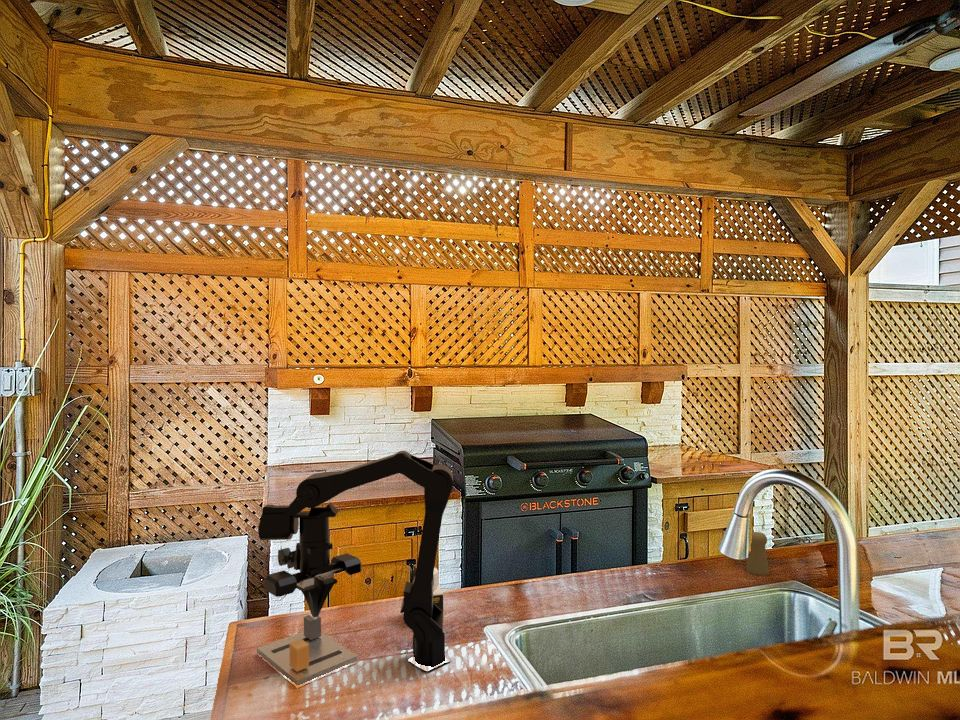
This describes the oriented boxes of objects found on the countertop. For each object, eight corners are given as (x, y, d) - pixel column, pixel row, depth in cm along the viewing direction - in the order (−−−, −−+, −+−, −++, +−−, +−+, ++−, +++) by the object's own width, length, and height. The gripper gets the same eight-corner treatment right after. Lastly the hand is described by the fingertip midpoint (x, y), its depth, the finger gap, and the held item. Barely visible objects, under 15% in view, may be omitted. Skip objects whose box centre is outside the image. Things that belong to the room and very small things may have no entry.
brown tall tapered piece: (741, 569, 165) (740, 531, 166) (755, 566, 168) (755, 528, 168) (759, 576, 160) (758, 537, 160) (774, 572, 163) (773, 534, 163)
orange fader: (309, 666, 111) (308, 644, 111) (296, 671, 109) (296, 648, 109) (301, 661, 113) (301, 639, 113) (289, 666, 112) (289, 643, 112)
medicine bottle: (413, 627, 131) (412, 575, 132) (408, 615, 138) (408, 565, 138) (443, 623, 133) (443, 571, 133) (437, 611, 140) (437, 562, 140)
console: (357, 663, 116) (357, 655, 116) (297, 688, 107) (297, 680, 107) (314, 634, 129) (314, 627, 129) (257, 655, 120) (256, 647, 120)
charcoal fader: (321, 636, 124) (320, 615, 124) (310, 640, 122) (310, 619, 122) (314, 631, 126) (314, 611, 126) (303, 635, 124) (303, 615, 124)
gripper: (334, 521, 127) (335, 592, 127) (251, 540, 114) (252, 619, 114) (362, 531, 120) (363, 606, 119) (276, 552, 106) (277, 637, 106)
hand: (315, 616), depth 115 cm, fingers closed
